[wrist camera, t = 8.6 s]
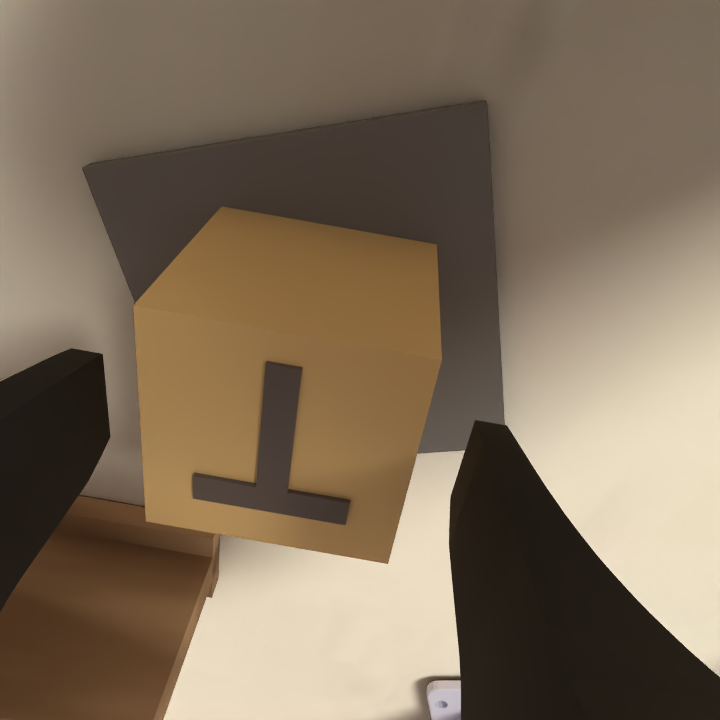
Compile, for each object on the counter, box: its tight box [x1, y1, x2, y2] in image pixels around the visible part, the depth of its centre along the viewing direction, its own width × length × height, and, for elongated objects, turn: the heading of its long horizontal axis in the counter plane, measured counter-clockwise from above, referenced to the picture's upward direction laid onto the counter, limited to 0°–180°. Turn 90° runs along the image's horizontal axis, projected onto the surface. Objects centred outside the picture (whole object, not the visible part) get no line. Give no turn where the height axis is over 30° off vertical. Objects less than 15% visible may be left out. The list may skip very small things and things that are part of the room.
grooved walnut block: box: [0, 496, 220, 720], centre depth 18 cm, size 3×10×6 cm, turn 81°
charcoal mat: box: [82, 100, 505, 453], centre depth 15 cm, size 9×9×1 cm
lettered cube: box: [133, 206, 442, 564], centre depth 13 cm, size 5×5×5 cm
